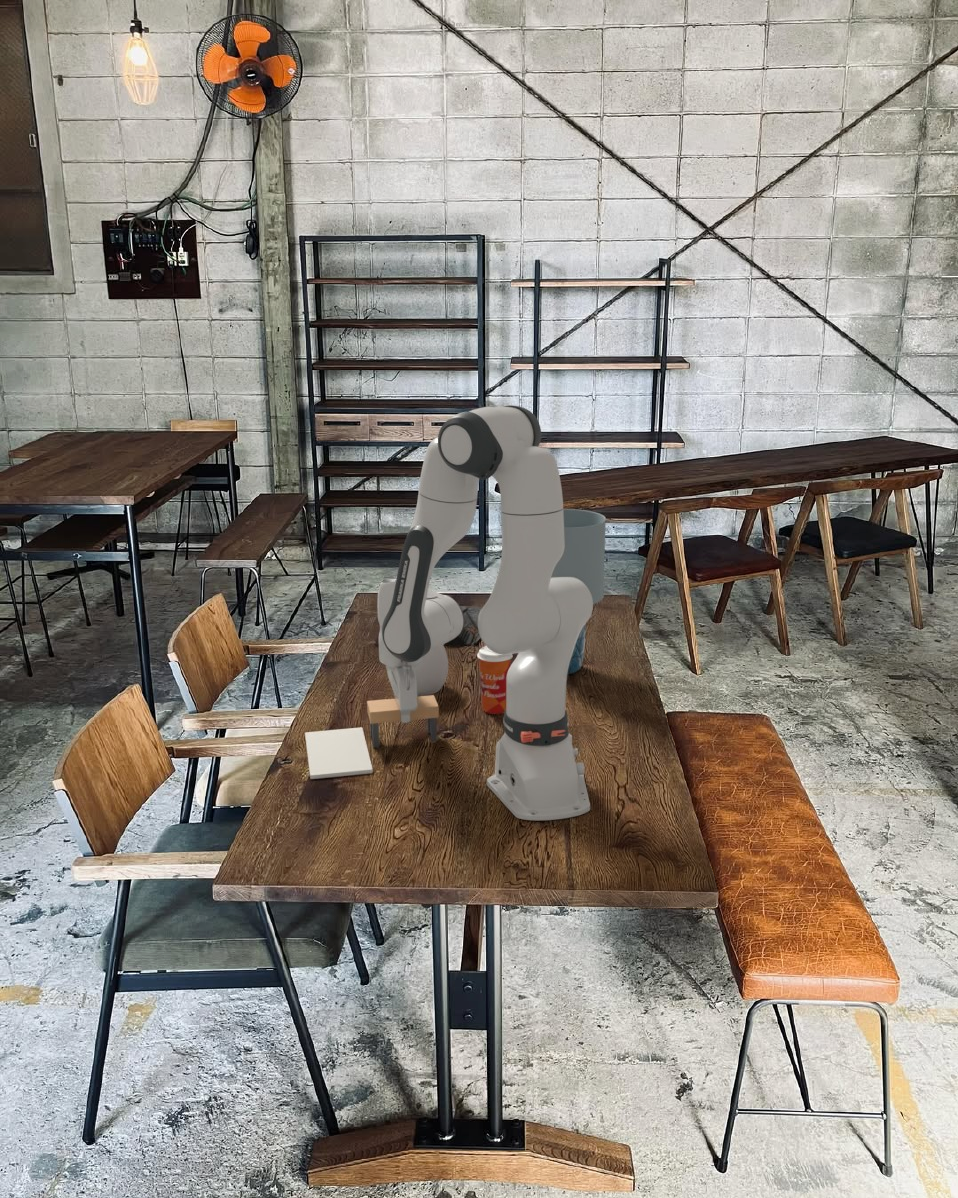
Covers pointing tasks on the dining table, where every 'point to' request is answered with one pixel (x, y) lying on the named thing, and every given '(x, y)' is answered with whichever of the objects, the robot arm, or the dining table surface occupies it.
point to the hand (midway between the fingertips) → (402, 714)
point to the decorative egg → (431, 672)
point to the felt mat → (337, 753)
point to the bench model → (390, 713)
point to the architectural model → (469, 621)
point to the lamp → (583, 562)
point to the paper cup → (493, 679)
